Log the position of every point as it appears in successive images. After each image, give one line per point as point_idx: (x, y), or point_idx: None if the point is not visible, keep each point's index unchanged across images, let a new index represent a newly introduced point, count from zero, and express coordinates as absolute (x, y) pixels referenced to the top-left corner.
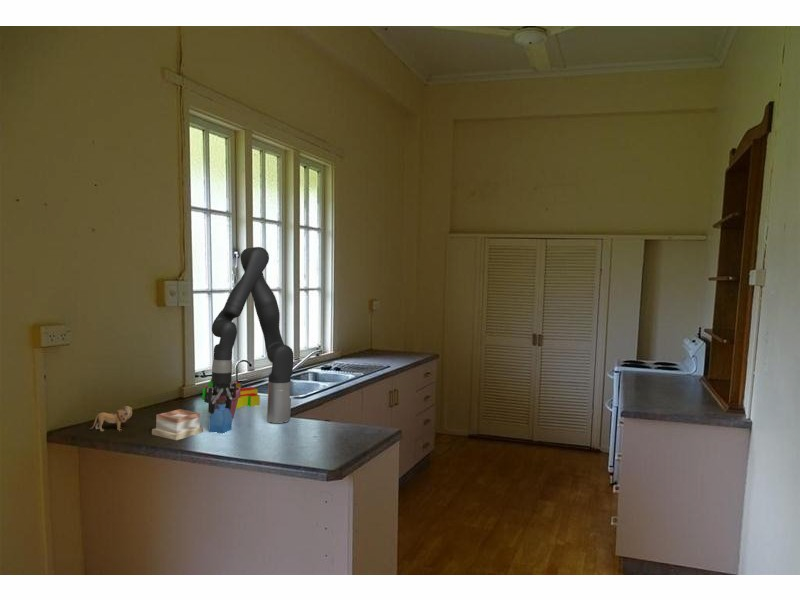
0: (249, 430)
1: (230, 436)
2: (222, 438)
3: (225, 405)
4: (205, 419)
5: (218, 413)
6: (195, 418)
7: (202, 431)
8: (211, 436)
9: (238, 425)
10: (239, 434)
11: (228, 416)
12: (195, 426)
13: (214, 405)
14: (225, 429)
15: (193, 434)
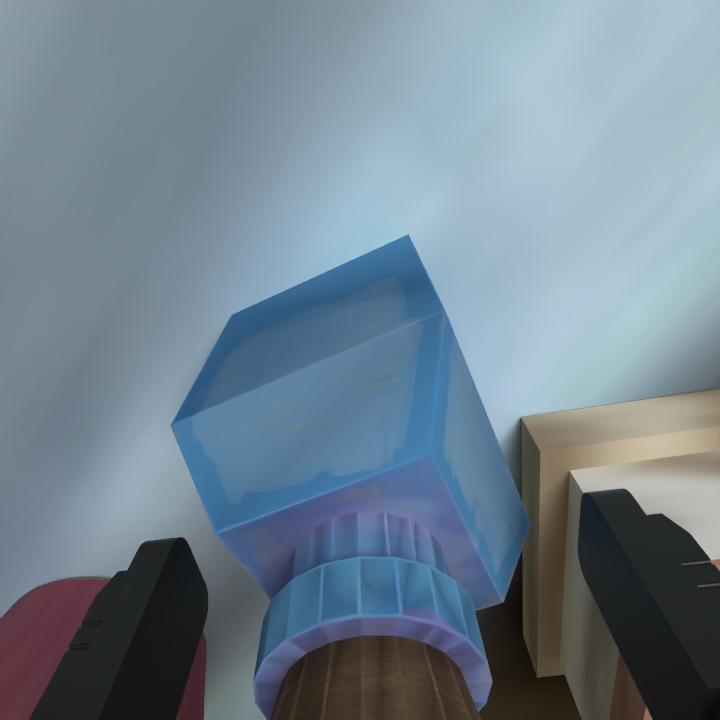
0: (52, 101)
1: (436, 39)
2: (576, 39)
3: (310, 591)
4: (251, 671)
5: (475, 470)
6: (714, 557)
7: (535, 422)
8: (586, 233)
9: (85, 387)
10: (279, 27)
11: (289, 369)
12: (643, 478)
13: (684, 645)
14: (369, 264)
15: (660, 401)
